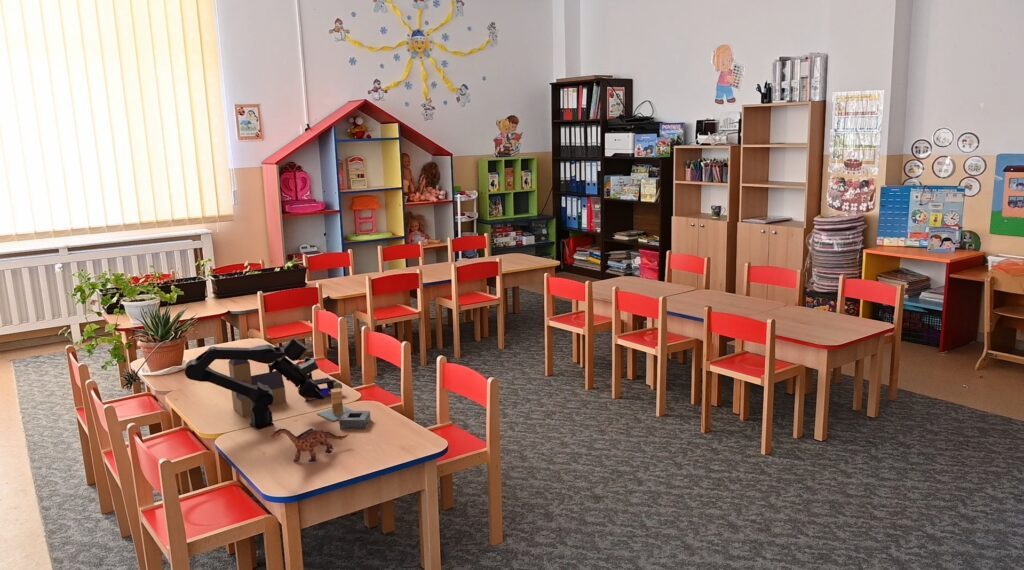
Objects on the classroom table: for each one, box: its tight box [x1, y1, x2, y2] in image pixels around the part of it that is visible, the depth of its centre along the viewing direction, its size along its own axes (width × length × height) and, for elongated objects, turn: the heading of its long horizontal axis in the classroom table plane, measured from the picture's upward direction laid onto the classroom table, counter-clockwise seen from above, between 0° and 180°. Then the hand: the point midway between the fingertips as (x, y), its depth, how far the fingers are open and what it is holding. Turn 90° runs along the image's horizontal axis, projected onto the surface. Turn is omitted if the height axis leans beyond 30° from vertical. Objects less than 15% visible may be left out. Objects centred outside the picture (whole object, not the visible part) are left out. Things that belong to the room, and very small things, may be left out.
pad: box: [316, 405, 354, 423], centre depth 298 cm, size 11×11×1 cm
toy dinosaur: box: [270, 428, 349, 464], centre depth 257 cm, size 8×30×15 cm, turn 150°
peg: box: [330, 388, 344, 415], centre depth 297 cm, size 4×4×9 cm
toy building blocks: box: [228, 346, 287, 418], centre depth 305 cm, size 12×19×25 cm, turn 125°
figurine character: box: [303, 377, 343, 401], centre depth 317 cm, size 7×8×15 cm
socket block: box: [338, 410, 372, 430], centre depth 287 cm, size 9×9×4 cm
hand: (321, 394), depth 294 cm, fingers open, 9 cm apart
